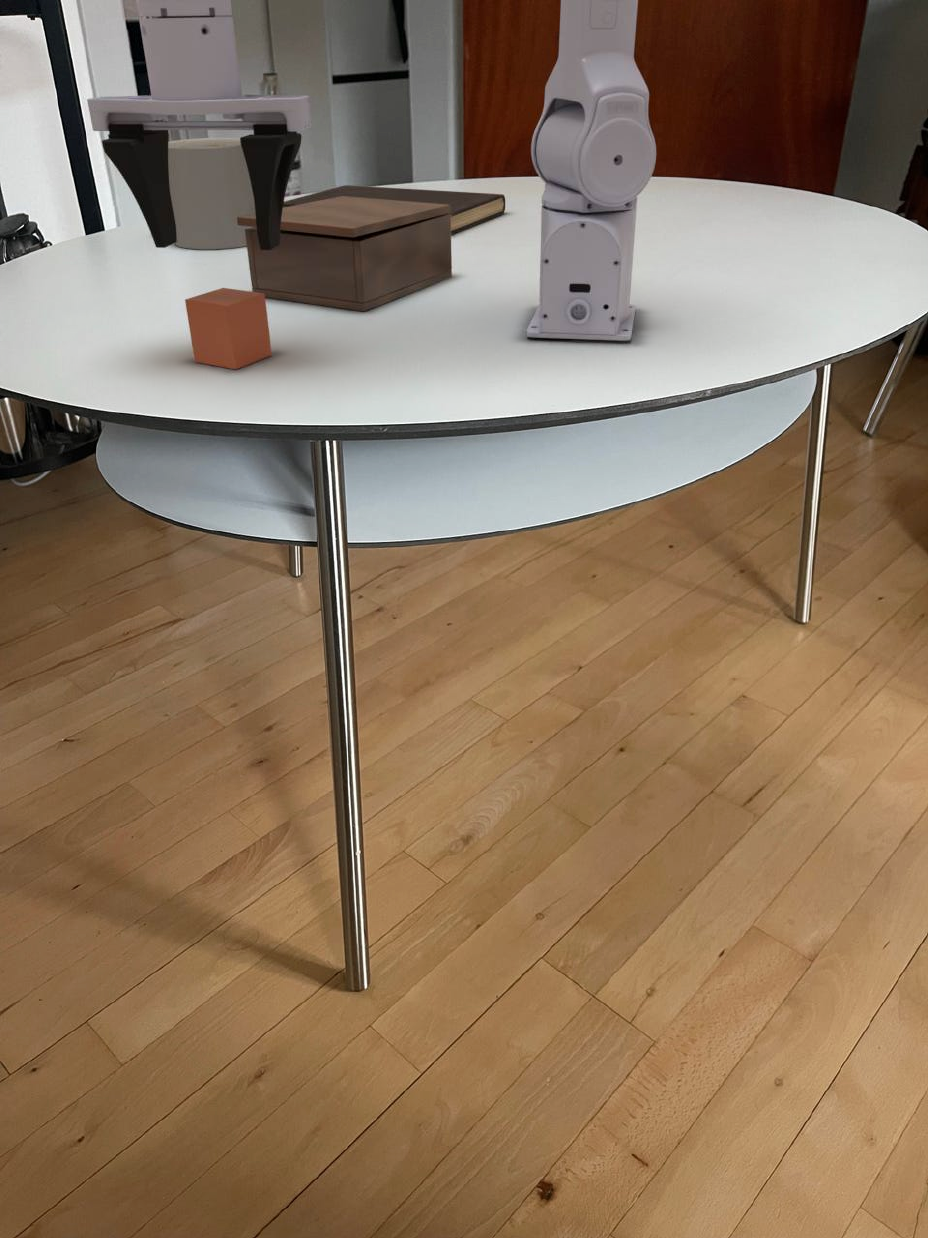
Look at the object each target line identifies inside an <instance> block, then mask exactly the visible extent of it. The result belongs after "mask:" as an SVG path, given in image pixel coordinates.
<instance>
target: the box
mask: <svg viewBox="0 0 928 1238" xmlns="http://www.w3.org/2000/svg"><path fill="white" fill-rule="evenodd" d="M245 236H246V244H247V246H246V250H247V258H248V267H249V275H250V282H251V283H250V284H251V292H257V293H264V294H265V298H267V299H274V300H282V301H288V302H295V303H303V304H309V305H316V306H323V307H330V308H339V309H344V310H350V311H358V312H367V311H369V310H372V309H375V308H377V307H379V306H382V305H385V304H387V303H390V302H392V301H395V300H397V299H400V298H403V297H405V296H407V295H410V294H412V293H415V292H417V291H420V290H422V289H425V288H427V287H430V286H432V285H436V284H438V283H440V282H443V281H445V280H448V279H450V278H453V270H452V269H453V265H452V264H453V261H452V260H453V259H452V235H451V214H449V213H448V214H444V215H440V216H436V217H432V218H428V219H424V220H420V221H416V222H412V223H408V224H404V225H401V226H397V227H393V228H389V229H385V230H381V231H377V232H373V233H369V234H365V235H361V236H357V237H344V236H335V235H325V234H315V233H306V232H296V231H287V230H280V245H278V246H276V247H275V248H273V249H271V250H261V249H260V245H259V240H258V235H257V227H251V228H247V229H245Z"/></svg>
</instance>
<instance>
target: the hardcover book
mask: <svg viewBox="0 0 928 1238" xmlns="http://www.w3.org/2000/svg"><path fill="white" fill-rule="evenodd" d="M340 196H348V197H360V198H372V199H384V200H397V201H409V202H421V203H433V204H446V205H450V210H451V212H450V213H449V214H451V236H453V235H455V234H457V233H460V232H463V231H465V230H469V229H471V228H473V227H475V226H478V225H480V224H482V223H485V222H487V221H489V220H492V219H494V218H495V219H496V218H497V217H500V216H503V215H504V213H505V211H506V197H505V195H504V194H503V193H486V192H469V191H455V190H454V191H453V190H451V191H450V190H435V189H417V188H403V187H402V188H401V187H399V188H398V187H383V186H382V187H381V186H366V185H348V184H344V185H340V186H337V187H333V188H329V189H326V190H322V191H318V192H314V193H311V194H307V195H303V196H300V197H296V198H292V199H289V200H284V204H283V208H285V207H290V206H295V205H300V204H305V203H310V202H315V201H320V200H325V199H330V198H335V197H340Z"/></svg>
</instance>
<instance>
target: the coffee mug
mask: <svg viewBox="0 0 928 1238" xmlns="http://www.w3.org/2000/svg"><path fill="white" fill-rule="evenodd" d="M168 168H169V185H170V194H171V200H172V206H173V211H174V217H175V223H176V235H177V242H176V243H174V245H175V246H176V247H178V248H182V249H191V250H225V249H226V250H227V249H234V248H243V247H247V244H246V236H245V229H247V228H251V227H248V226H239V225H238V223H237V217H239V216H244V215H249V214H254V213H255V203H254V196H253V191H252V186H251V181H250V176H249V172H248V168H247V164H246V160H245V157H244V153H243V150H242V147H241V142H240V137H204V138H203V137H202V138H188V139H187V138H186V139H179V140H177V139H176V140H169V141H168Z"/></svg>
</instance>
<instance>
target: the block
mask: <svg viewBox="0 0 928 1238" xmlns="http://www.w3.org/2000/svg"><path fill="white" fill-rule="evenodd" d="M184 302H185V310H186V315H187V321H188V328H189V333H190V339H191V346H192V353H193V359H194V363H199V364H204V365H210V366H215V367H221V368H227V369H231V370H238V369H241V368H244V367H246V366H248V365H251V364H253V363H256V362H258V361H261V360H263V359H266V358H268V357H270V356H273V353H272V345H271V336H270V328H269V327H270V326H269V319H268V310H267V302H266V297H265V294H264V293H257V292H252V291H250V290H242V289H235V288H228V287H221V288H218V289H214V290H212V291H208V292H205V293H202V294H199V295H196V296H195V295H194V296H191V297H189V298H186V299H184Z"/></svg>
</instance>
